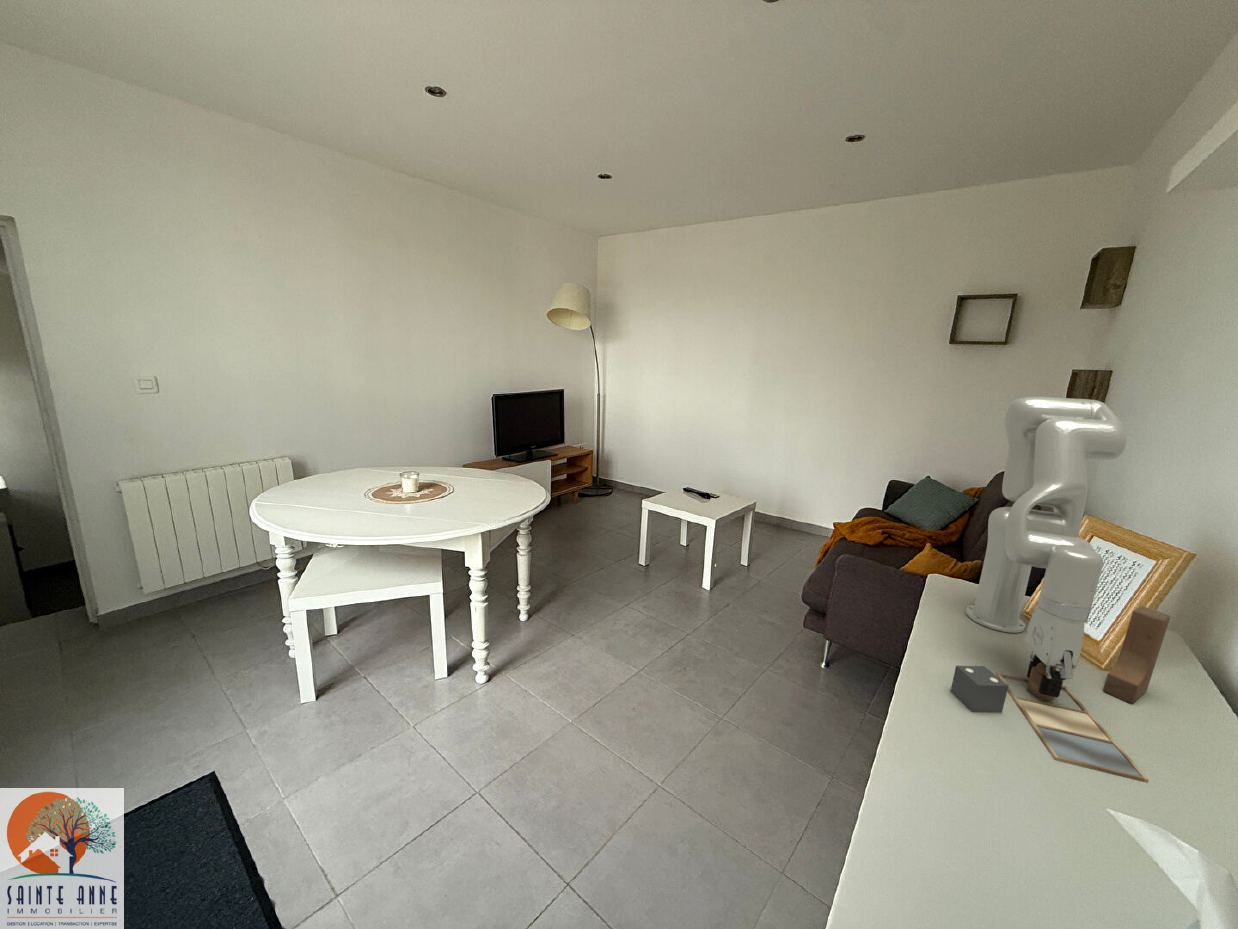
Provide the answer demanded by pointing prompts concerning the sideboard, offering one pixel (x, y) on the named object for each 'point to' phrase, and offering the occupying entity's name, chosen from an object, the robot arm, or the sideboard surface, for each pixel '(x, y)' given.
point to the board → (1075, 735)
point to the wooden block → (1137, 655)
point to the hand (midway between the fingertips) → (1042, 686)
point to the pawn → (1038, 682)
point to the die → (979, 689)
